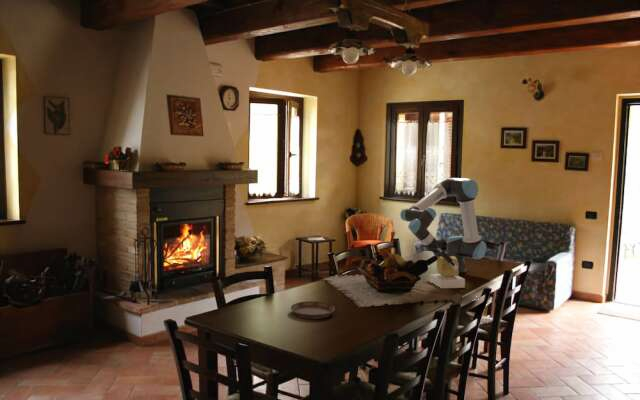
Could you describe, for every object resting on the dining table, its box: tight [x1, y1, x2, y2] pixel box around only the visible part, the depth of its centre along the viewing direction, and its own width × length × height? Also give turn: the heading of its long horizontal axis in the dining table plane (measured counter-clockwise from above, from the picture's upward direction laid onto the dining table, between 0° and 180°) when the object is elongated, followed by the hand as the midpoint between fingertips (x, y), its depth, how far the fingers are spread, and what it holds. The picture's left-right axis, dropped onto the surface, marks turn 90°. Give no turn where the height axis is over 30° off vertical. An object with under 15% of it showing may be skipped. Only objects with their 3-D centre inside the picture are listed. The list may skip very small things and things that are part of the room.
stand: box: [429, 273, 466, 289], centre depth 316 cm, size 15×15×5 cm
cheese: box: [436, 256, 460, 276], centre depth 315 cm, size 10×11×10 cm
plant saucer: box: [290, 300, 336, 320], centre depth 250 cm, size 21×21×3 cm
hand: (452, 266), depth 316 cm, fingers closed on cheese, 11 cm apart
